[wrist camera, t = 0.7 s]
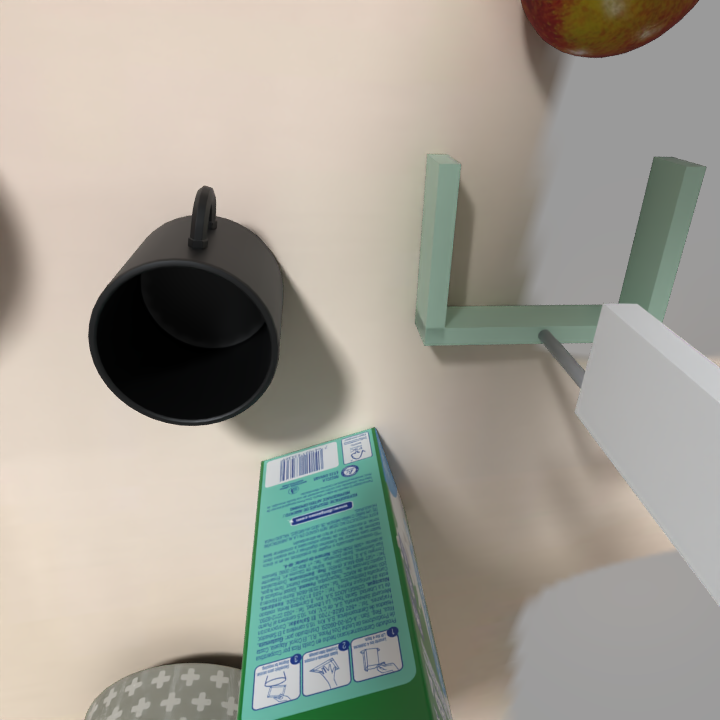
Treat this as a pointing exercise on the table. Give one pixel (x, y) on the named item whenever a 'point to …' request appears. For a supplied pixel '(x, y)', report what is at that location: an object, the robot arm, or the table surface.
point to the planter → (171, 694)
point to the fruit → (603, 23)
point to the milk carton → (336, 594)
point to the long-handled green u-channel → (551, 322)
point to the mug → (191, 320)
